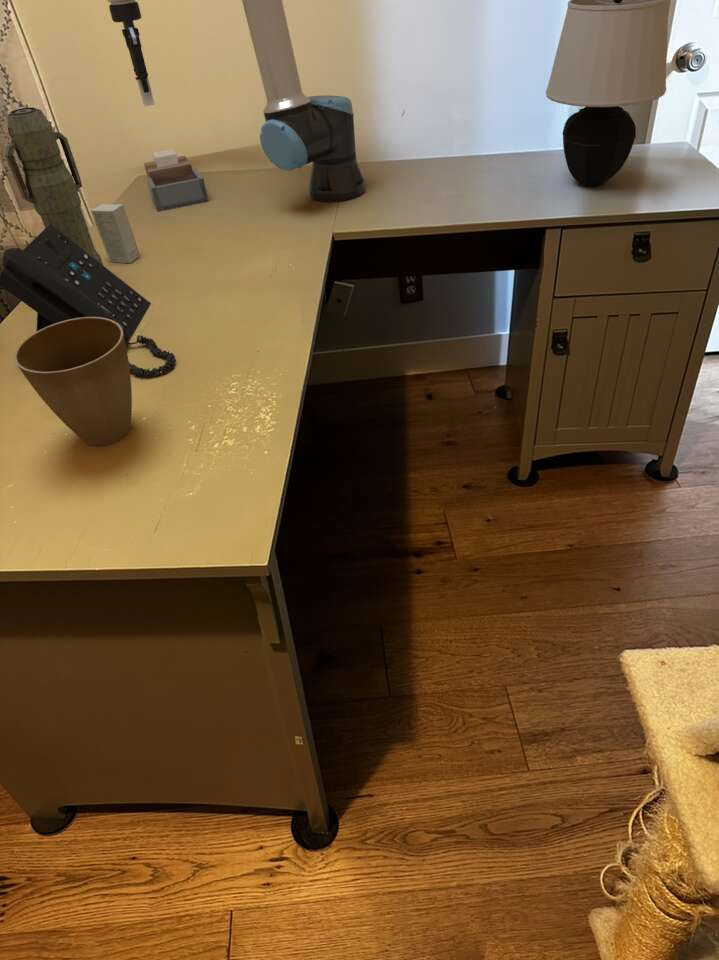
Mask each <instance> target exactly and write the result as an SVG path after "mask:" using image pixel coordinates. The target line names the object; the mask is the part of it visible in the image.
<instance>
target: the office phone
mask: <svg viewBox="0 0 719 960" xmlns="http://www.w3.org/2000/svg"><path fill="white" fill-rule="evenodd" d="M1 262H2V269H3V270H2V271H1V274H0V287H1V288H3V289H4V290H5V291H7V292H8V293H10V294H11V295H12V296H13V297H15V298H17V299H18V300H20V302H23V303H24V304H25V305H26V306H27V307H30V309H32V310H33V311H34V312H36V313H37V317H36V332H37V331H39V330H41V329H43V328H45V327H47V326H50V325H52V324H55V323H58V322H61V321H65V320H69V319H74V318H82V317H102V318H107V319H110V320H113V321H115V322H117V323H118V324H119V325H120V326H121V327H122V329H123V333H124V338H125V343H126V346H127V345H128V346H129V345H135V344H138V343H139V344H141V345H145V346H147V348H148V350H149V351H150V353H152V354H153V355H154V356H155V357H158V358H161V359H162V358H163V359H165V360H166V361H165V362H164V364H163V365H162V366H161V365H159V367H153V368H152V370H150V368H143V367H138V366H137V365H136V364H132V363H131V362H130V361H129V368H130V373H132V374H133V375H134V376H137V377H140V378H153V377H154V378H155V377H158V376H161V374H162V375H164V374H166V375H167V373H170V372H171V370H173V369H174V367H175V363H177V360H176V358H175V357H176V356H175V354H174V353H173V352H170V351H167V350H162V349H161V348H159V347H158V345H157V344H156V342H155V341H154V339H153V338H149V337H147V336H144V335H140V334H139V335H137V337H136V341H135V342H134V341H133V342H129V341H130V339H131V337H132V335H133V334H134V332H135V330H136V329H137V328H138V325H139V324H140V323H141V320H142V319H143V317H144V315H145V314H146V312H147V310H148V309H149V308H150V305H151V302H150V301H148V299H146V298H145V297H144V296H142V295H141V294H140V293H138V292H137V290H135V289H134V288H132V287H131V286H130V285H129V284H127V283H126V282H125V281H123V280H122V279H121V278H120V277H118V276H117V275H116V274H115V273H113V272H112V271H111V270H109V268H108V267H106V266H104V264H103V265H102V264H101V263H99V262H98V261H97V260H96V259H94V258H93V257H92V256H91V255H89V254H88V253H87V252H85V251H84V250H83V249H82V248H80V247H79V246H78V245H77V244H75V243H74V242H73V241H72V240H70V239H69V238H68V237H67V236H65V235H64V234H63V233H61V232H60V231H59V230H58V229H56V228H55V227H54V226H53V225H51V224H49V225H48V226H47V227H46V228H45V227H44V229H43V230H42V231H41V232H40V233H39V234H38V235H37V236H36V237H35V238H34V239H32V241H31V242H30V243H29V244H27V246H26V247H25V248H23V249H22V248H20V247H10V248H8V249H5V250H4V252H3V254H2V261H1Z"/></svg>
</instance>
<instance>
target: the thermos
mask: <svg viewBox="0 0 719 960" xmlns="http://www.w3.org/2000/svg"><path fill="white" fill-rule="evenodd" d="M6 121H7V131H8V134H9V138H10V139H11V141H10V142H11V143H9V144H7V145H6V147H5V152H4V156H5V158H6V160H7V164H8V166H9V168H10V170H11V173H12V175H13V177H14V181H15V183H16V185H17V188H18V190H19V193H20V195H21V198H22V199H23V200H24V201H26V202H28V203H31V204H32V205H33V208H34V210H35V212H36V213H37V214H38V215H39V217H40V218H41V221H42V223H43V226H44V229H45V228H46V227H47V226H48V225H49V224H51V225H53V226H54V227H55V228H56V229H58V230H59V231H60V232H61V233H63V234H64V235H65V236H67V237H68V238H69V239H70V240H72V241H73V242H74V243H75V244H77V245H78V246H79V247H80V248H82V249H83V250H84V251H85V252H87V253H88V254H89V255H91V256H92V257H93V258H94V259H96V260H97V261H98V262H99V263H101V264H102V265H103V266H104V263H103V259H102V257H101V255H100V254H99V252H98V251H97V250H96V248H95V246H94V243H93V239H92V237H91V233H90V230H89V228H88V225H87V223H86V222H87V221H86V220H85V217H84V213H83V211H82V208H81V207H82V205H81V204H82V201H81V198H80V195H79V193H80V189H81V188H83V184H82V179H81V176H80V174H79V173H80V172H79V170H78V167H77V164H76V161H75V158H74V155H73V151H72V148H71V147H70V143H69V139H68V138H67V137H66V136H65V135H64V134H62V133H61V132H59V131H54V130H53V127H52V124H51V123H50V121H49V120H48V118H47V117H46V115H45V114H44V112H43V110H42V109H40V108H37V107H33V106H32V107H22V108H17V109H14V110H11V111H10V112H9V114H7V115H6ZM57 141H59V142H60V145H61V147H62V150H63V153H64V155H65V158H66V162H67V165H68V167H69V169H68V168H67V166H66V164H65V162H64V159H62V156H61V150H60V147H59V144H58V142H57ZM14 151H15V152H16V156H17V158H18V160H19V161H20V163H21V165H22V171H23V173H24V178H23V176H22V174H21V171H20V168H19V167H18V164H17V161H16V159H15V156H14ZM24 181H25V182H24Z"/></svg>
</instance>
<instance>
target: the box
mask: <svg viewBox="0 0 719 960" xmlns="http://www.w3.org/2000/svg"><path fill="white" fill-rule="evenodd" d="M192 172H193V177H194V179H192V180H187V181H182V182H176V183H171V184H166V185H161V186H156V187H155V185H154V183H153V181H152V179H151V177H146V183H147V185H148V188H149V193H150V197H151V200H152V202H153V205H154V206H156V207H155V209H156V210H157V212H158V211H159V212H163V211H162V210H164V211H168V210H167V209H169V210H172V209H171V208H173V209H177V208H176V207H178V208H182V207H181V206H183V207H188V206H192V204H193V205H197V203H198V204H202V203H201V202H203V203H207V202H206V201H208V202H209V198H208V194H207V189H206V185H205V180H204V177H203V176H202V175H201V173H200V171H198V169H197V168H196V167H195V168H192ZM187 205H188V206H187Z"/></svg>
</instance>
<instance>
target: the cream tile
mask: <svg viewBox="0 0 719 960" xmlns="http://www.w3.org/2000/svg"><path fill="white" fill-rule="evenodd" d="M151 154H152V157H153V161H155V164H156V165H157V167H163V166H168V165H173V164H179V163H178V159H177V157H178V156H177V153H176V151H175V150H174V149H173V148H171V149H166V150H160V151H155V152H152V153H151Z"/></svg>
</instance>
